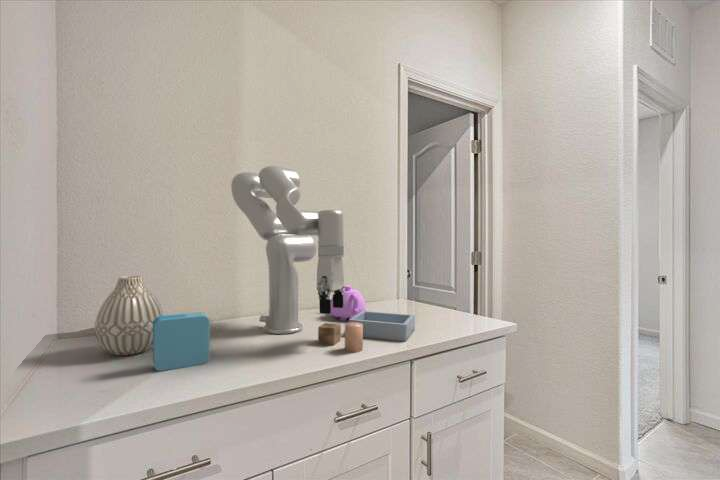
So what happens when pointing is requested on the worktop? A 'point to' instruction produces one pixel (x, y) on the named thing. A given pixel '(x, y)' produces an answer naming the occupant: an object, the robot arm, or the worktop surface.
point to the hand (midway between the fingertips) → (331, 310)
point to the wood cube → (329, 334)
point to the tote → (386, 325)
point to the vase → (127, 317)
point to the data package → (180, 341)
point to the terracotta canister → (353, 337)
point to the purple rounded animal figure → (349, 304)
